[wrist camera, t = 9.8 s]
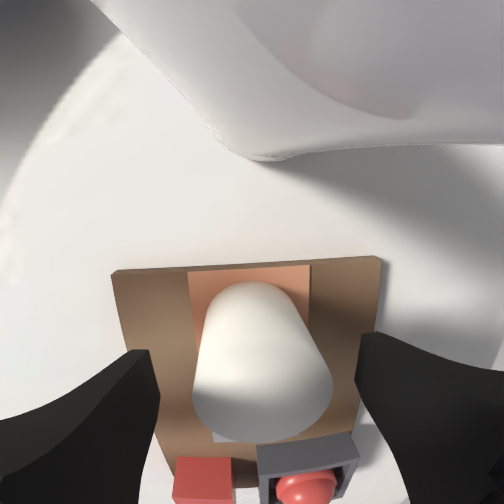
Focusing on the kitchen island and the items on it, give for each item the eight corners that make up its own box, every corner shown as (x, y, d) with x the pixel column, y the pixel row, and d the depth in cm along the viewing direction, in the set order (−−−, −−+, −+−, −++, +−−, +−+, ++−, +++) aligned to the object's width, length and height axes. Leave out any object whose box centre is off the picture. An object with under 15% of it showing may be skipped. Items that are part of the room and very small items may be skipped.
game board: (335, 467, 16) (338, 475, 16) (180, 479, 16) (179, 488, 15) (373, 255, 13) (382, 260, 12) (117, 269, 12) (109, 275, 11)
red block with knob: (235, 480, 15) (237, 522, 11) (187, 480, 15) (184, 520, 11) (230, 457, 14) (232, 503, 10) (177, 456, 14) (171, 501, 10)
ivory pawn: (241, 375, 13) (247, 456, 8) (186, 314, 12) (162, 388, 7) (313, 330, 12) (353, 401, 7) (264, 261, 11) (287, 312, 7)
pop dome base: (334, 474, 16) (342, 497, 13) (258, 486, 15) (261, 511, 13) (347, 430, 14) (360, 457, 12) (255, 445, 14) (259, 475, 12)
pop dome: (326, 479, 15) (337, 514, 11) (273, 488, 14) (279, 525, 11) (334, 451, 14) (349, 491, 10) (273, 462, 13) (281, 505, 10)
